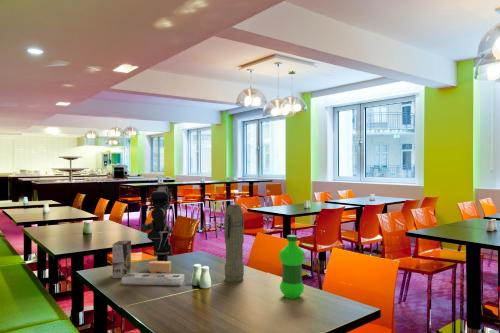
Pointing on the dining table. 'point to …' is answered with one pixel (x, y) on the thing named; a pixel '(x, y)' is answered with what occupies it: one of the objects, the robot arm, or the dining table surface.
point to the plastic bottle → (292, 268)
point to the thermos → (234, 243)
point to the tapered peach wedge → (160, 266)
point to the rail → (153, 279)
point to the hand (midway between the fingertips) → (159, 249)
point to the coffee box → (121, 259)
